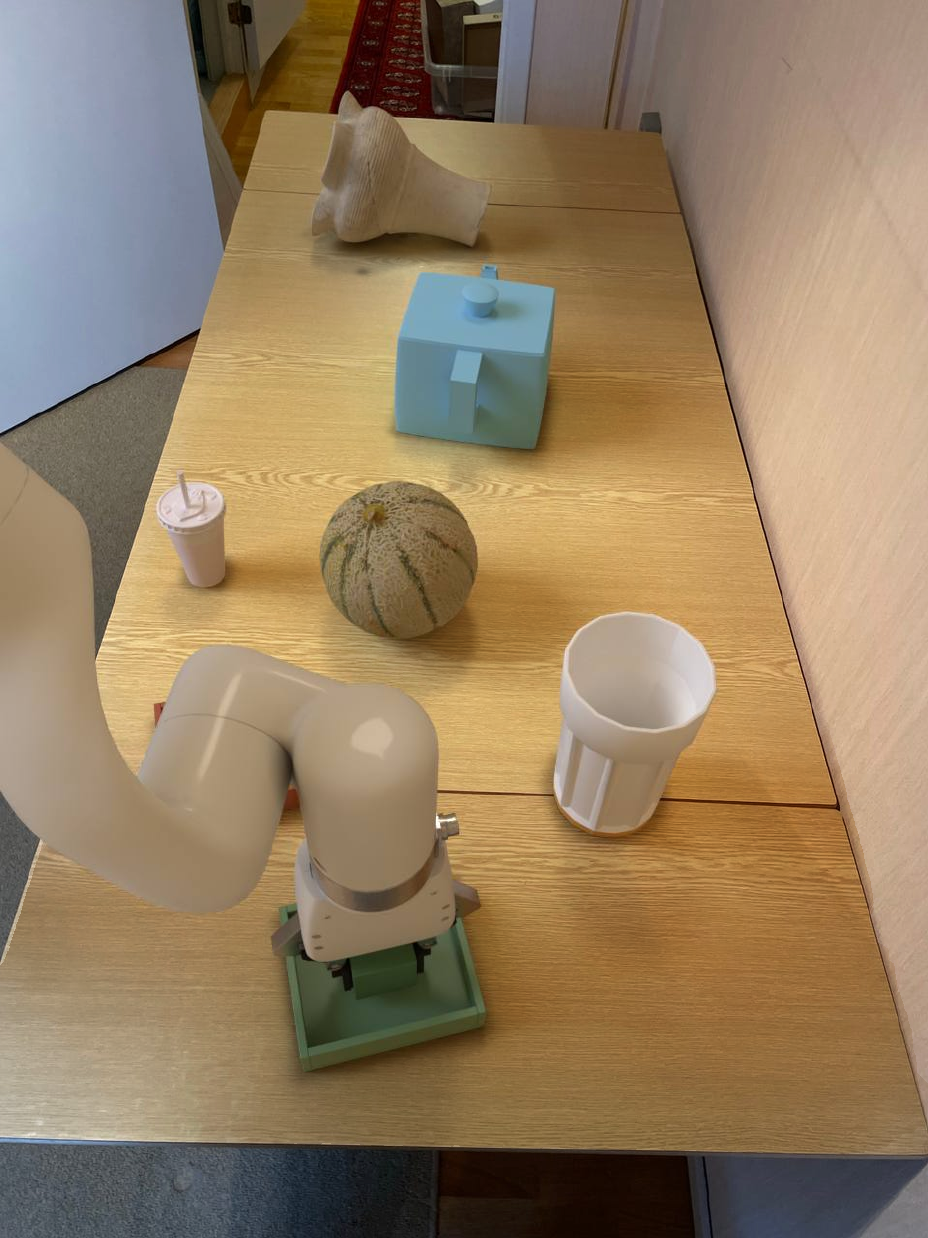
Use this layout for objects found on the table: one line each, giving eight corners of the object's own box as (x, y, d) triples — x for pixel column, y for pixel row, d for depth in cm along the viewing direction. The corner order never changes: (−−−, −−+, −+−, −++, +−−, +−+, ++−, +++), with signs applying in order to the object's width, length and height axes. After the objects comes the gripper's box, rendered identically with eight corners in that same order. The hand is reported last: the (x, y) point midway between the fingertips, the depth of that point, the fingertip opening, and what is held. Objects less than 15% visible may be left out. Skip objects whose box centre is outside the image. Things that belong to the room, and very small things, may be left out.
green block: (355, 1000, 70) (352, 977, 67) (344, 941, 73) (341, 916, 70) (417, 985, 71) (417, 962, 68) (403, 927, 74) (403, 902, 71)
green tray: (304, 1072, 69) (300, 1059, 67) (282, 923, 76) (278, 906, 74) (484, 1026, 72) (486, 1012, 69) (447, 886, 79) (448, 869, 76)
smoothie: (163, 590, 98) (133, 484, 87) (190, 545, 102) (164, 439, 91) (224, 603, 97) (201, 498, 86) (248, 558, 101) (229, 452, 90)
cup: (513, 795, 84) (532, 672, 71) (590, 714, 90) (621, 587, 77) (621, 876, 80) (662, 762, 67) (695, 786, 86) (747, 665, 72)
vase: (534, 123, 141) (344, 57, 136) (539, 167, 124) (323, 94, 120) (488, 266, 154) (313, 211, 150) (487, 324, 138) (290, 264, 133)
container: (385, 457, 112) (382, 341, 100) (423, 334, 128) (425, 221, 116) (533, 477, 111) (548, 362, 99) (553, 350, 127) (567, 238, 115)
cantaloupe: (501, 597, 99) (513, 486, 88) (418, 694, 91) (419, 585, 79) (383, 537, 104) (380, 423, 92) (293, 623, 96) (278, 511, 84)
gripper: (492, 765, 62) (477, 890, 76) (221, 820, 59) (258, 940, 73) (526, 872, 58) (504, 985, 71) (235, 938, 54) (271, 1043, 68)
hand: (380, 961), depth 72 cm, fingers closed on green block, 4 cm apart
